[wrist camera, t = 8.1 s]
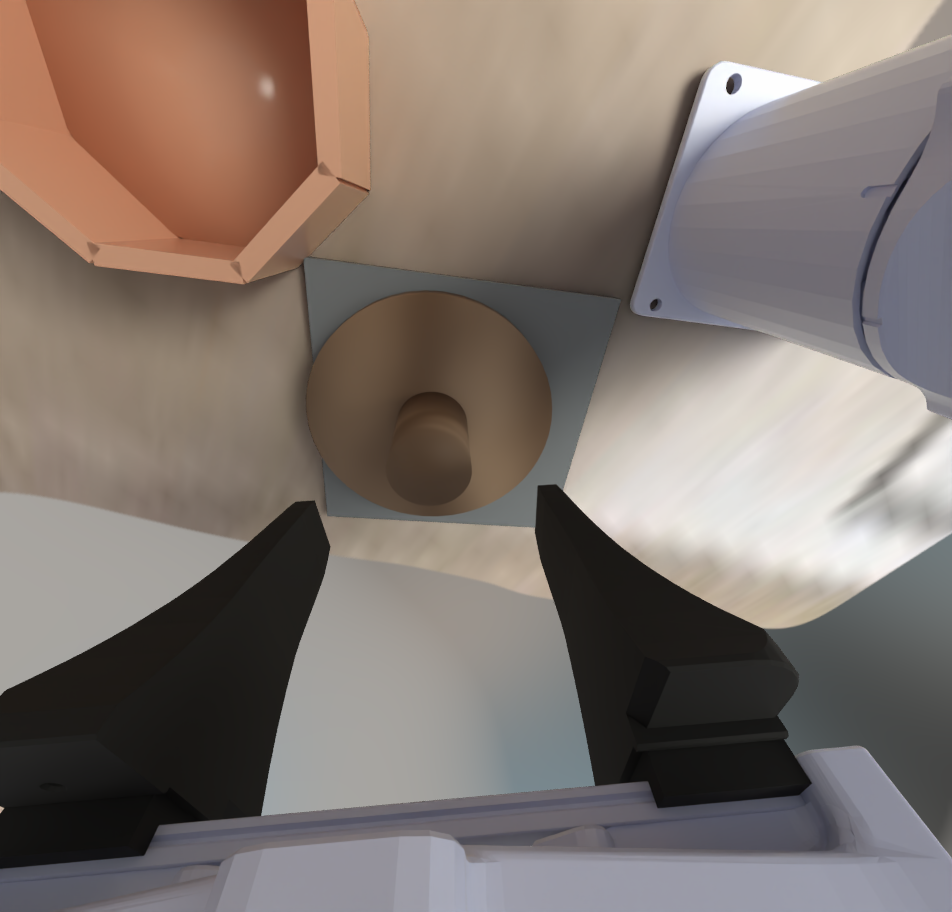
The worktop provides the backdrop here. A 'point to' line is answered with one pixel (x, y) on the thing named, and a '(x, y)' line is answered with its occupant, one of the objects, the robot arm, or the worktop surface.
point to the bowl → (186, 129)
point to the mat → (532, 312)
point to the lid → (429, 404)
